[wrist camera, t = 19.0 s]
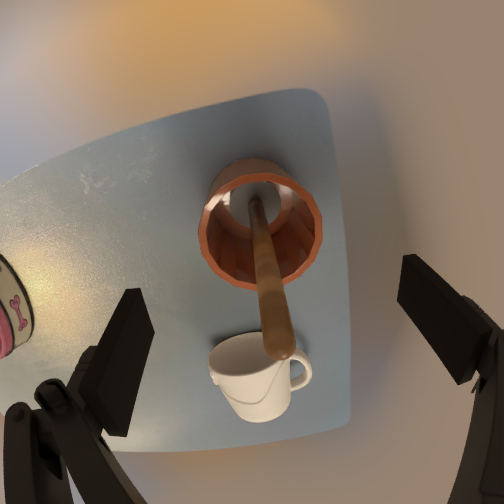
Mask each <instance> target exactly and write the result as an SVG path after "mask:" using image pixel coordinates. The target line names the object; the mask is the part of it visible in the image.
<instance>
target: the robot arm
mask: <svg viewBox="0 0 504 504" xmlns="http://www.w3.org/2000/svg"><path fill="white" fill-rule="evenodd" d="M397 302H398V303H399V304H400V305H401V307H402V308H403V309H404V311H405V312H406V313H407V314H408V316H409V317H410V318H411V320H412V321H413V323H414V324H415V325H416V326H417V328H418V329H419V330H420V332H421V333H422V335H423V336H424V337H425V339H426V340H427V342H428V343H429V344H430V346H431V347H432V348H433V350H434V351H435V353H436V354H437V356H438V357H439V358H440V360H441V361H442V363H443V364H444V366H445V367H446V368H447V370H448V371H449V373H450V374H451V376H452V377H453V378H454V380H455V382H456V383H457V385H460V384H463V383H465V382H467V381H470V380H471V379H472V377H473V375H474V373H475V371H476V370H477V371H478V373H479V374H480V376H479V378H478V380H477V382H476V384H475V386H474V387H473V389H472V392H471V393H474V391H475V389H476V394H475V401H474V406H473V412H472V417H471V422H470V427H469V432H468V436H467V440H466V445H465V448H464V453H463V456H462V460H461V463H460V467H459V470H458V473H457V477H456V480H455V483H454V486H453V489H452V492H451V495H450V498H449V500H448V503H447V504H504V330H502V329H501V328H500V327H499V326H498V325H497V324H496V323H495V322H494V321H493V320H492V319H491V318H490V317H489V316H488V315H487V314H486V313H484V311H483V310H482V309H481V308H479V306H478V305H477V304H476V303H475V302H474V301H473V300H472V299H470V298H468V297H466V296H460V295H459V294H458V293H457V292H456V291H455V290H454V289H453V288H452V287H451V286H450V285H449V284H448V283H447V282H446V281H445V280H444V279H443V278H441V276H439V275H438V274H437V273H436V272H435V271H434V270H433V269H432V268H431V267H429V265H427V264H426V263H425V262H424V261H423V260H422V259H421V258H420V257H418V256H417V255H416V254H410V255H404V256H403V262H402V269H401V277H400V283H399V290H398V297H397ZM154 333H155V332H154V329H153V326H152V323H151V320H150V317H149V314H148V311H147V308H146V305H145V302H144V299H143V296H142V292H141V289H140V288H133V289H126V290H125V292H124V294H123V296H122V298H121V300H120V301H119V303H118V305H117V307H116V309H115V311H114V313H113V315H112V317H111V319H110V321H109V323H108V325H107V327H106V329H105V331H104V333H103V335H102V337H101V339H100V341H99V343H98V345H97V346H89V347H88V348H87V349H86V350H85V351H84V352H83V353H82V355H81V357H80V359H79V361H78V364H77V365H76V368H75V371H74V372H73V374H72V376H71V378H70V380H69V382H68V384H67V387H65V385H64V384H63V382H62V381H61V380H59V379H48V380H45V381H44V382H42V383H41V384H40V385H39V386H38V387H37V388H36V391H35V393H34V399H35V400H36V401H37V403H38V404H39V405H40V407H41V408H42V409H36V410H31V408H30V407H29V406H28V405H27V404H26V403H24V402H17V403H15V404H13V405H12V406H11V407H10V408H9V409H8V410H7V412H6V415H5V423H4V449H3V458H4V459H3V462H4V463H3V465H4V489H5V501H6V504H74V503H73V498H72V494H71V489H70V484H69V479H68V474H67V468H68V471H69V473H70V475H71V477H72V479H73V481H74V483H75V485H76V487H77V489H78V491H79V493H80V495H81V497H82V499H83V501H84V502H85V504H147V502H146V501H145V500H144V498H143V497H142V496H141V494H140V493H139V492H138V490H137V489H136V488H135V486H134V485H133V483H132V482H131V481H130V479H129V478H128V476H127V475H126V473H125V472H124V470H123V469H122V467H121V466H120V464H119V463H118V461H117V460H116V458H115V456H114V455H113V453H112V452H111V450H110V448H109V447H108V445H107V443H106V442H105V440H104V439H103V437H102V436H101V433H102V430H103V428H104V429H105V431H106V432H107V433H108V434H109V436H119V437H127V433H128V429H129V425H130V421H131V417H132V413H133V409H134V405H135V401H136V397H137V393H138V389H139V386H140V382H141V378H142V375H143V371H144V367H145V364H146V360H147V357H148V353H149V350H150V346H151V343H152V340H153V336H154ZM66 466H67V468H66Z"/></svg>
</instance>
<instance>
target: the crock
mask: <svg viewBox="0 0 504 504" xmlns="http://www.w3.org/2000/svg"><path fill="white" fill-rule="evenodd" d="M262 181H270V182H273V183H274V184H275V186H276V188H277V190H278V192H279V195H280V198H281V209H280V212H279V214H278V216H277V217H276V219H275V220H274V221H273V222H271V223H270V224H268V226H269V230H270V234H271V238H272V242H273V246H274V250H275V254H276V258H277V263H278V267H279V271H280V275H281V279H282V284H283V285H285V284H287V283H289V282H291V281H293V280H295V279H297V278H298V277H300V276H301V275H302V274H303V272H304V271H305V270H306V269H307V268H308V267H309V266H310V265H311V264H312V263H313V262H314V260H315V258H316V255H317V253H318V250H319V248H320V245H321V243H322V239H323V236H322V216H321V214H320V212H319V209H318V207H317V205H316V203H315V201H314V199H313V197H312V195H311V194H310V193H309V192H307V191H306V190H305V189H304V188H303V187H302V186H301V185H300V184H299V183H298V182H297V181H296V180H295V179H294V178H293V177H292V176H291V175H290V174H288V173H287V172H286V171H285V170H284V169H282V168H281V167H280V166H279V165H278V164H276V163H274V162H271V161H269V160H266V159H261V158H246V159H241V160H238V161H236V162H233V163H231V164H230V165H228V166H227V167H225V168H224V169H222V171H221V172H220V173H219V174H218V175H217V177H216V178H215V180H214V181H213V182H212V184H211V187H210V190H209V193H208V196H207V199H206V202H205V205H204V209H203V212H202V216H201V220H200V224H199V228H198V236H199V242H200V247H201V253H202V255H203V257H204V258H205V260H206V261H207V263H208V264H209V266H210V267H211V269H212V270H213V272H214V273H215V274H217V275H218V276H220V277H221V278H223V279H224V280H226V281H227V282H229V283H230V284H232V285H233V286H237V287H241V288H245V289H250V290H254V291H255V290H256V291H257V282H256V273H255V264H254V255H253V246H252V237H251V229H250V228H249V227H246V226H243V225H241V224H240V223H238V222H237V221H236V220H235V219H234V217H233V216H232V214H231V211H230V207H229V201H230V191H232V190H234V189H236V188H237V187H239V186H241V185H243V184H245V183H253V182H262Z"/></svg>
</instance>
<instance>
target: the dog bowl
mask: <svg viewBox="0 0 504 504" xmlns="http://www.w3.org/2000/svg"><path fill="white" fill-rule="evenodd" d="M33 326H34V321H33V313H32V309H31V305H30V302H29V299H28V297H27V295H26V292H25V290H24V288H23V286H22V284H21V283H20V281H19V280H18V278H17V276H16V275H15V273H14V272H13V270H12V269H11V268H10V266H9V265H8V264H7V263H6V261H5V260H4V259H3V258H2V257H1V256H0V359H2V358H3V357H5V356H8V355H9V354H11V353H12V351H13V350H14V349H16V348H17V347H18V346H20V345H22V344H24V343H25V342H27V341H28V340H29V338H30V337H31V335H32V332H33Z"/></svg>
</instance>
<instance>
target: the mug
mask: <svg viewBox="0 0 504 504" xmlns="http://www.w3.org/2000/svg"><path fill="white" fill-rule="evenodd" d="M291 359H295V360H298V361H300V362H301V363H302V364H303V365H304V366H305V370H304V373H303V374H302V375H300V376H299V377H296V378H294V379H291V380H290V360H291ZM207 364H208V368H209V369H210V376H211V377H212V378H213V382H214V384H215V385H217V384H219V387H220V390H221V391H222V393H223V394H224V396H225V397H226V399H227V400H228V402H229V403H230V405H231V406H232V407H233V409H234V410H235V412H236V413H237V414H238V416H239V417H241V418H242V419H244V420H246V421H249V422H255V423H260V422H267V421H270V420H273V419H275V418H277V417H278V416H280V415H281V414H282V413H283V412H284V411H285V410H286V409H287V408H288V406H289V404H290V400H291V391H294V390H297V389H299V388H302V387H304V386H305V385H307V384H308V383H309V382H310V380H311V377H312V368H311V365H310V361H309V359H308V357H307V356H306V354H305V353H304V352H303V351H301V350H300V349H298V348H296V349H295V351H294V353H293V355H292V356H291V357H290V358H288V359H286V360H283V361H277V360H274V359H271V358H270V357H269V356H268V355H267V354H266V352H265V350H264V344H263V335H262V332H251V333H245V334H241V335H237V336H234V337H231V338H229V339H227V340H225V341H223V342H221V343H220V344H218V345H217V346H216V347H215V348H214V349H213V350H212V351H211V352H210V354H209V355H208V358H207Z"/></svg>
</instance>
